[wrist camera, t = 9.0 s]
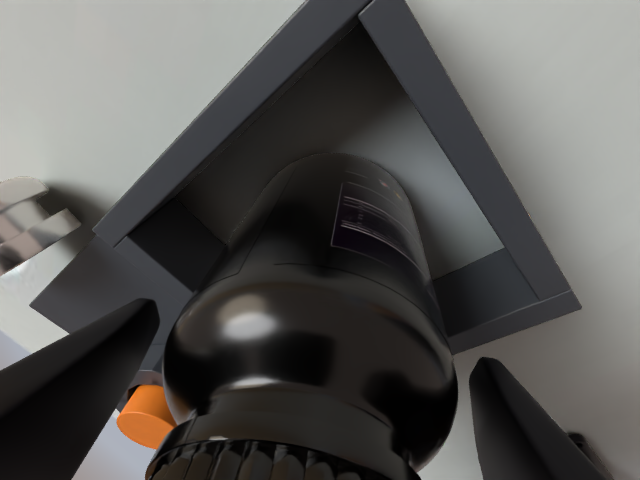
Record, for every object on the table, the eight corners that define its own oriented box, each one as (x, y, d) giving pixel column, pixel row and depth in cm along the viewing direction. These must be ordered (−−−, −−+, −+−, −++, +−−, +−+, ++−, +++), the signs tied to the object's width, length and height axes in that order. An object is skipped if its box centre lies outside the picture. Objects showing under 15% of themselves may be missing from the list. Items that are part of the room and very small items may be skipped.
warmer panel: (316, 351, 19) (306, 408, 16) (204, 401, 24) (181, 452, 21) (145, 192, 15) (90, 230, 12) (49, 290, 20) (-8, 334, 17)
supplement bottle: (337, 304, 17) (287, 689, 7) (232, 221, 15) (-39, 580, 5) (449, 225, 14) (652, 726, 4) (334, 108, 12) (135, 475, 2)
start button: (210, 409, 18) (195, 442, 17) (173, 425, 20) (157, 456, 19) (159, 373, 17) (139, 405, 16) (124, 393, 19) (103, 423, 17)
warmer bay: (539, 251, 14) (583, 308, 11) (316, 351, 19) (306, 408, 16) (368, -36, 10) (366, -66, 7) (145, 192, 15) (90, 230, 12)
